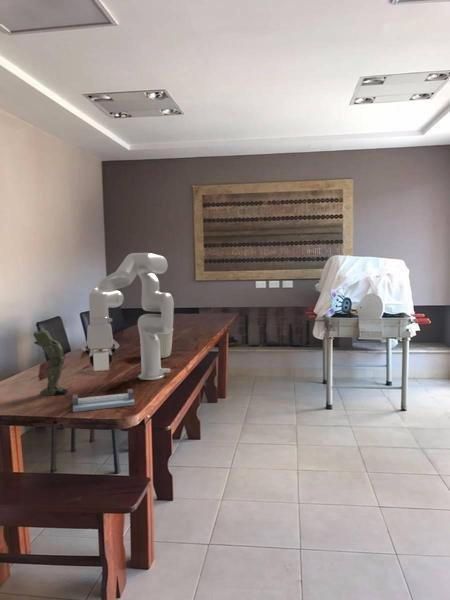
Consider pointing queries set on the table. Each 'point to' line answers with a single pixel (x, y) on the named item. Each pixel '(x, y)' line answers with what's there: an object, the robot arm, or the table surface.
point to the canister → (165, 344)
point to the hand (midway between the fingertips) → (101, 364)
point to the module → (101, 359)
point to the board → (103, 405)
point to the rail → (103, 398)
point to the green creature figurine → (51, 362)
